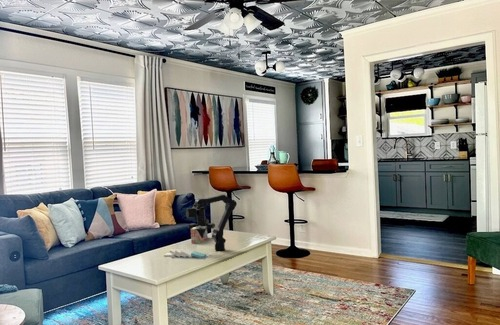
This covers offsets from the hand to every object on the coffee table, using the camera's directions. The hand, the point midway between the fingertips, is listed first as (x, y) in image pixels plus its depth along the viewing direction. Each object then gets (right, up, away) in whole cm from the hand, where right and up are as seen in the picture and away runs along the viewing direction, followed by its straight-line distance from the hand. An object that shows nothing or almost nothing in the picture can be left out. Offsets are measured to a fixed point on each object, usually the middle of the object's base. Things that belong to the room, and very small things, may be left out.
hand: (202, 237), depth 273 cm
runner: (-7, -12, -7) cm, 16 cm away
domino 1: (-18, -12, -2) cm, 22 cm away
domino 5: (+3, -11, -11) cm, 15 cm away
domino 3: (-10, -11, -6) cm, 16 cm away
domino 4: (-6, -11, -7) cm, 14 cm away
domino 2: (-14, -11, -4) cm, 18 cm away
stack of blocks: (-8, -11, +45) cm, 47 cm away
